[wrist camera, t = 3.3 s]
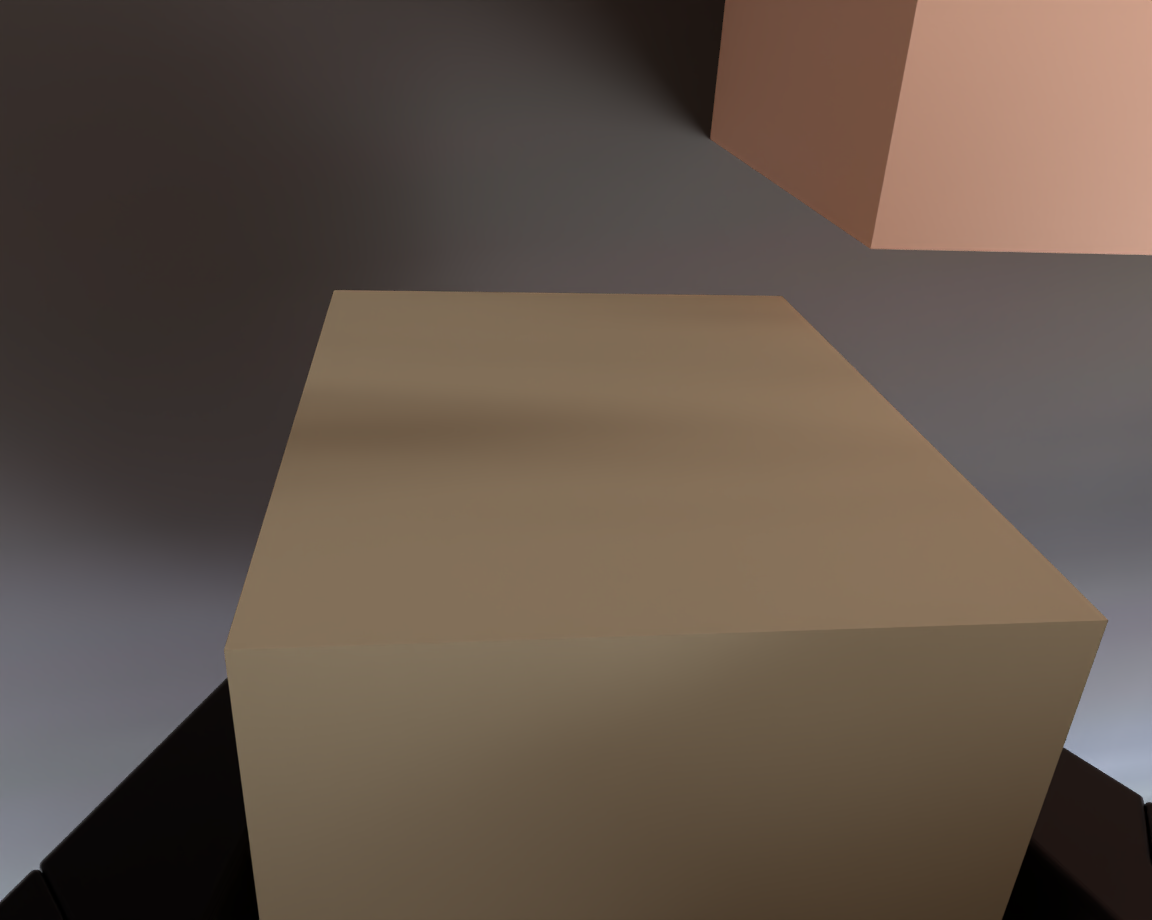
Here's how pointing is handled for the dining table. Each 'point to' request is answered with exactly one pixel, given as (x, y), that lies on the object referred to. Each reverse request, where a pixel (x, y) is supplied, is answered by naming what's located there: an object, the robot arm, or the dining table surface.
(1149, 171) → the terracotta block
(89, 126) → the dining table surface
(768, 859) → the maple block
